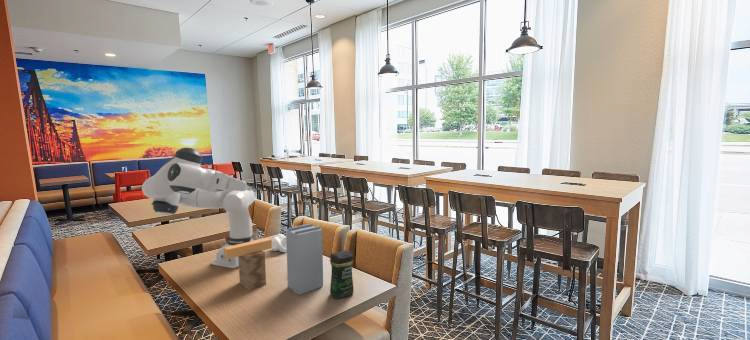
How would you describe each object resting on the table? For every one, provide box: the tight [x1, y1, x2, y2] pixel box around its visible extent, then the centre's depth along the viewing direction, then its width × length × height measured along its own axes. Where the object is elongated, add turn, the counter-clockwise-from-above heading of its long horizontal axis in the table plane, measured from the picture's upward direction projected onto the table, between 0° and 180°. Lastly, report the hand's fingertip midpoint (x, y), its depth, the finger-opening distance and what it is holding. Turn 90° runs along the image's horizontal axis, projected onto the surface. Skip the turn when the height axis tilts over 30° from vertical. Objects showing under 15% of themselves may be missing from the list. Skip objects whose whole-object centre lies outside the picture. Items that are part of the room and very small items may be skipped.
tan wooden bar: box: [224, 237, 273, 259], centre depth 155 cm, size 20×4×4 cm, turn 133°
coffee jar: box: [329, 249, 355, 299], centre depth 146 cm, size 10×8×19 cm
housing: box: [285, 222, 324, 295], centre depth 153 cm, size 12×10×27 cm
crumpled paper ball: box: [271, 233, 287, 253], centre depth 200 cm, size 11×12×9 cm
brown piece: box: [238, 250, 267, 291], centre depth 156 cm, size 8×10×15 cm
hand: (245, 188), depth 150 cm, fingers open, 8 cm apart
